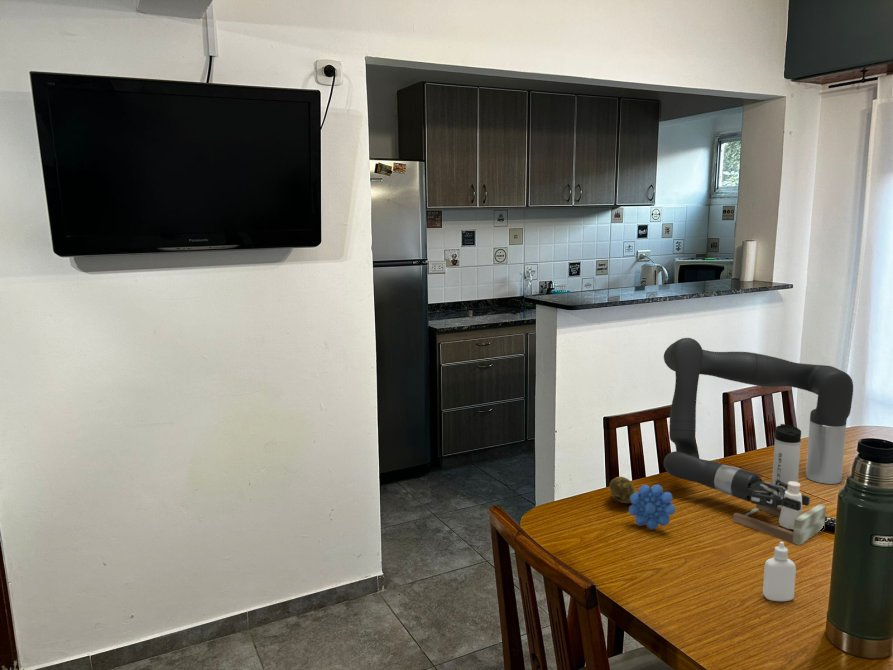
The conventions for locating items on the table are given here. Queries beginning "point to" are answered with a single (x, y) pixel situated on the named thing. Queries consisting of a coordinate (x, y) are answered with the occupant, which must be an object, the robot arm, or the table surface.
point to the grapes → (651, 506)
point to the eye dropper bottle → (779, 576)
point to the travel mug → (786, 454)
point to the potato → (622, 489)
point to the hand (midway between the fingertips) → (804, 504)
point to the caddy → (803, 529)
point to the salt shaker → (787, 513)
